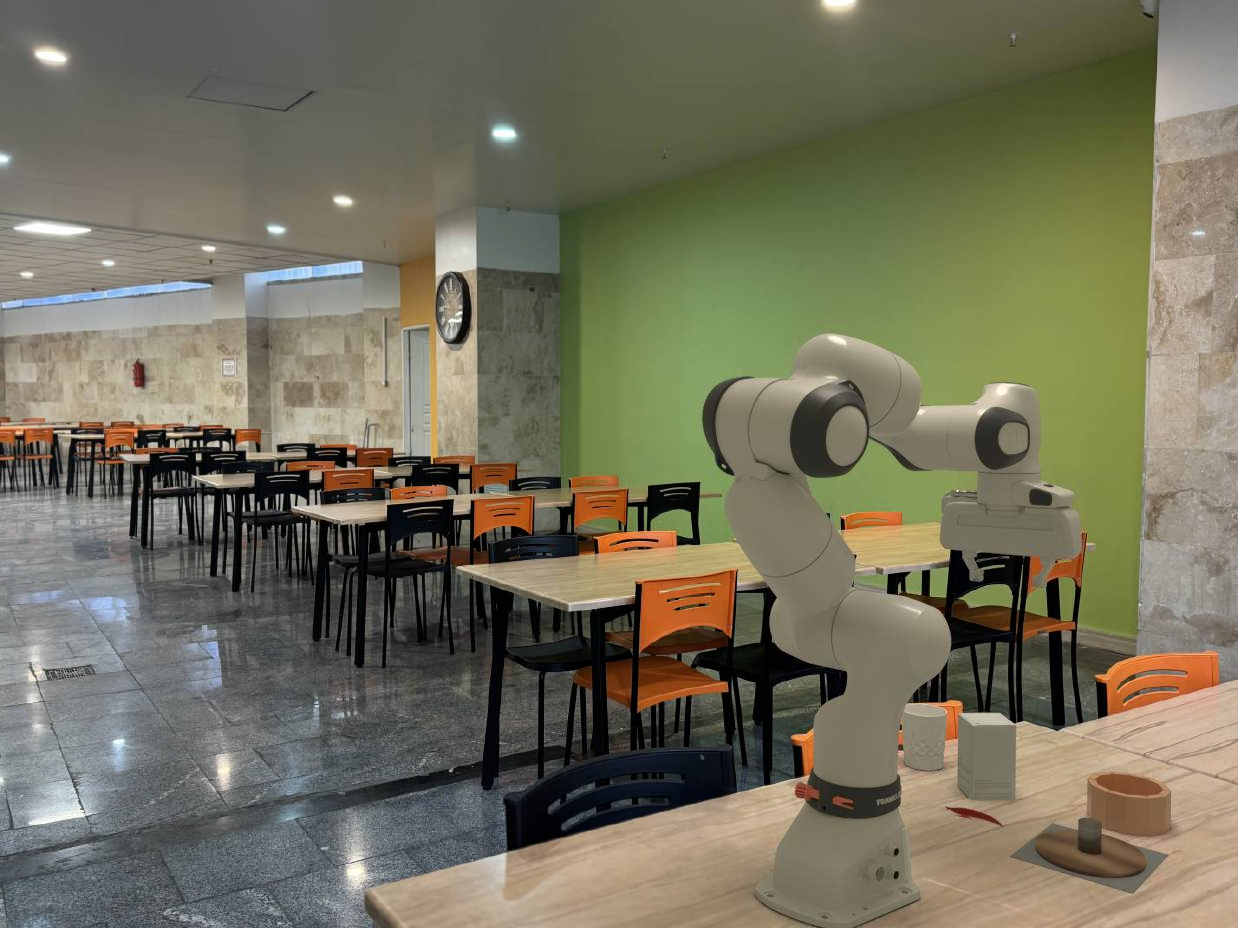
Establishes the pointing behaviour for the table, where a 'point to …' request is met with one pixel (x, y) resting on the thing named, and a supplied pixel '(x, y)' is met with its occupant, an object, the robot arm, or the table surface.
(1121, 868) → the lid
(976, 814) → the red feather
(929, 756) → the white cup
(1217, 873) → the table surface
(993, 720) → the supplement box
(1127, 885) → the mat
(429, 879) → the table surface
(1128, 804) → the bowl
